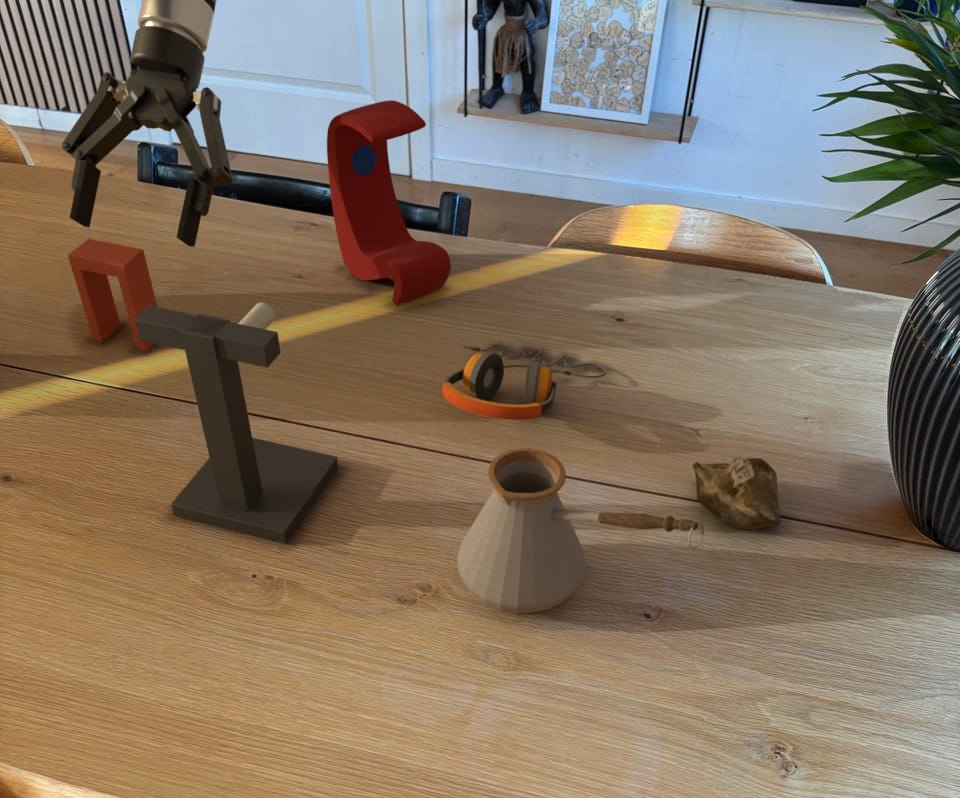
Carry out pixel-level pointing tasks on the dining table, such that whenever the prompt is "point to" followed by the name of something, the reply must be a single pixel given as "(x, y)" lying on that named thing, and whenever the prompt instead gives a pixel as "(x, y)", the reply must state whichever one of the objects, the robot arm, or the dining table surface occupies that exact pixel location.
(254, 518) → the stand
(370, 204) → the chair
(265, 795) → the dining table surface
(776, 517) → the fossilized seashell
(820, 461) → the dining table surface
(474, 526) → the coffee pot
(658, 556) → the dining table surface
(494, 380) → the headphones
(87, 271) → the clip
